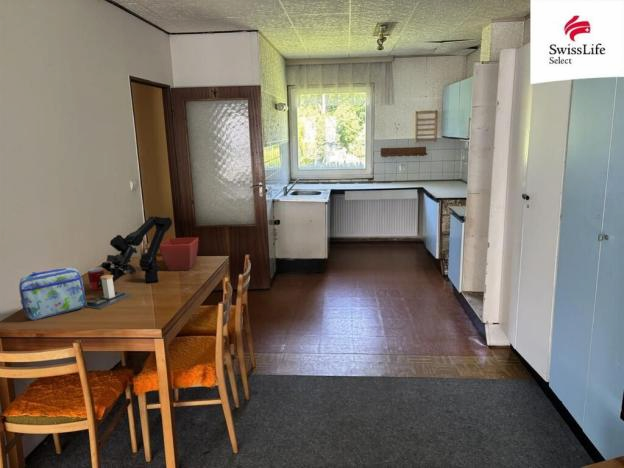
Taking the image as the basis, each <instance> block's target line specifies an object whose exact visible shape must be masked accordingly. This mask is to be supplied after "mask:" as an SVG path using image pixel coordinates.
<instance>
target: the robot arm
mask: <svg viewBox="0 0 624 468" xmlns="http://www.w3.org/2000/svg"><path fill="white" fill-rule="evenodd" d="M172 225H173V221H172V219H171V218H170V217H169V216H156V215H150V216H149V217H148V218H147V220H145V222H143V223H142V224H141V226H140V227H139V228H137V230H135V231H132V232H130V233H129V234H127V235H126V236H125V237H123V236H122V235H121V234H117V235H116V236H115V237H113V238H112V239H111V240H110V241H109V245H110V246H111V247H112V248H114V249H115V250H116V251H118V252H119V254H117V253H116V255H112V254H111V255H110V254H107V256H106V262H105V261H104V262H103V261H102V263H101V265H100V267H102V268H103V270H106V271H107V272H109V273H110V275H113V278H112V279H113V283H115V282H116V281H117V280H119V279H121V278H122V277H123V276H125V275H126V273H127V271H128V272H129V274H131V275H135V274H136V272H137V269H136V267H135V266H133V265H132V264H130V263H131V262H132V260H130V259H131V257H132V256H133V254H137V253H138V250H137V248H136V247H139V246H140V245H141V244H142V242H143V241H144V237H145V236H146V235H147V234H148V233H149V232H150V231H151V230H152V228H154V227H155V233H154V235H153V238H152V240H151V242H150V244H149V248H148V250H147V252H146V253H145V254H143V253H142V254H141V256H140V259H139V264H138V265H139V268H140V269H141V272H144V273H143V274H144V282H145V284H152V283H153V284H154V283H158V282H159V276H158V272H159V271H160V270H161V266H160V265H159V264H157V263H158V259H157V254H158V251H159V250H160V249H159V247H160V244H161V243H162V242H163V238H164V236H165V233H167V232H168V231H169V230H170V229H171V227H172Z"/></svg>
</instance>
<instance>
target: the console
mask: <svg viewBox="0 0 624 468" xmlns="http://www.w3.org/2000/svg"><path fill="white" fill-rule="evenodd" d="M114 293H115V297H112V298H110V299H108V298H104V295H101V296H100V297H97V298H94V299H92V300H89V301H86V303H85V306H84V307H83V308H91V309H95V310H96V309H97V310H102V309H105V308H106V307H109V306H111V305H113V304H115V303H118V302H120V301H123V300H125V299H126V298H129V297H131V296H133V295H132V294H133V293H132V292H122V291H118V290H117V291H115V290H114Z"/></svg>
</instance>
